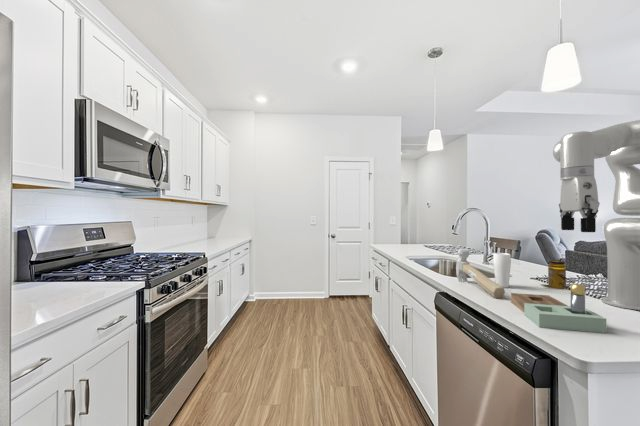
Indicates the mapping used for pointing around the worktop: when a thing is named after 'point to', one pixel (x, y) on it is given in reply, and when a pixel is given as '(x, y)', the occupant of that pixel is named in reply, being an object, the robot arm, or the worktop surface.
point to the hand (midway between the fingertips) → (577, 231)
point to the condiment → (556, 275)
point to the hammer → (476, 275)
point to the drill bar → (577, 299)
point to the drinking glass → (502, 268)
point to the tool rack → (564, 318)
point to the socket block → (533, 300)
